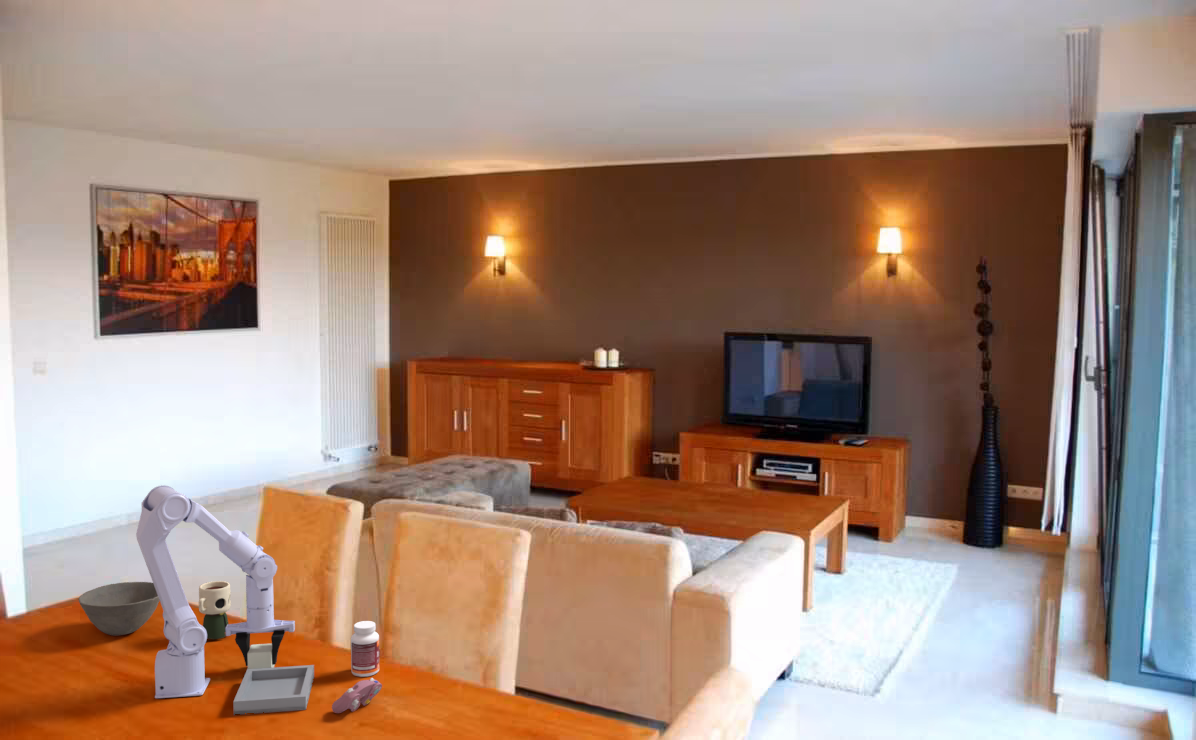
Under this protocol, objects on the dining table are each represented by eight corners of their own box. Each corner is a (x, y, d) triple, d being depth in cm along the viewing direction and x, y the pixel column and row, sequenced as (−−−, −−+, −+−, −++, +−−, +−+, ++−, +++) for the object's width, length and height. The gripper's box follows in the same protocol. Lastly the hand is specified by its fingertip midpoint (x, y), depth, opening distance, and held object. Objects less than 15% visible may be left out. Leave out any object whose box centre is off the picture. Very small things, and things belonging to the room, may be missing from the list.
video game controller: (342, 724, 189) (353, 698, 186) (328, 710, 191) (338, 684, 188) (378, 706, 197) (388, 681, 195) (364, 692, 199) (374, 667, 197)
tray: (233, 714, 189) (233, 701, 189) (247, 681, 205) (247, 669, 204) (305, 709, 192) (305, 696, 191) (314, 677, 207) (313, 664, 207)
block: (247, 675, 208) (247, 653, 207) (251, 665, 213) (251, 644, 212) (271, 673, 209) (271, 651, 208) (274, 664, 214) (274, 643, 213)
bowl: (142, 647, 223) (141, 606, 222) (64, 646, 223) (62, 605, 222) (178, 619, 241) (177, 581, 240) (106, 617, 242) (104, 580, 241)
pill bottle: (383, 673, 209) (383, 626, 208) (356, 680, 206) (356, 631, 205) (373, 664, 215) (373, 617, 214) (347, 670, 211) (346, 622, 210)
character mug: (213, 646, 223) (211, 594, 222) (188, 643, 225) (186, 590, 224) (242, 630, 234) (241, 580, 233) (218, 627, 236) (217, 577, 235)
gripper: (296, 597, 215) (297, 654, 216) (229, 600, 212) (230, 658, 213) (292, 607, 208) (293, 666, 209) (223, 611, 205) (224, 671, 206)
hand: (261, 663), depth 211 cm, fingers closed on block, 5 cm apart
